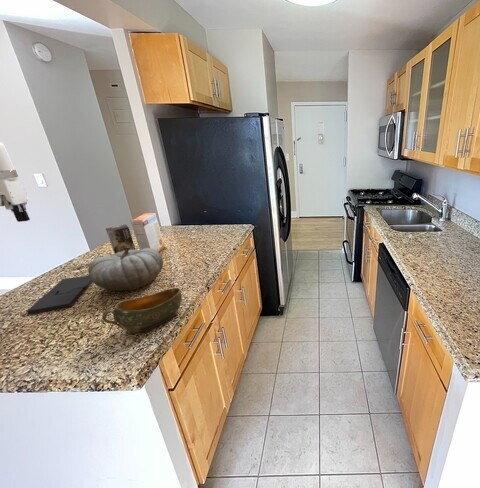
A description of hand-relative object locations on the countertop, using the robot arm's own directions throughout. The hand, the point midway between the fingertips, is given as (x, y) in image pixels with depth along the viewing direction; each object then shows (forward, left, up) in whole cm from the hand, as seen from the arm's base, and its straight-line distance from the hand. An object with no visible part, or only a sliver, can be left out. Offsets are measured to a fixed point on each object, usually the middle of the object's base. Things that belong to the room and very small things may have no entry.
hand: (23, 220), depth 107 cm
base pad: (+13, -25, -27) cm, 39 cm away
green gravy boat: (+49, -52, -27) cm, 77 cm away
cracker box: (+38, +15, -27) cm, 49 cm away
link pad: (+13, -14, -27) cm, 33 cm away
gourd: (+36, -20, -27) cm, 49 cm away
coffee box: (+25, +16, -27) cm, 40 cm away
